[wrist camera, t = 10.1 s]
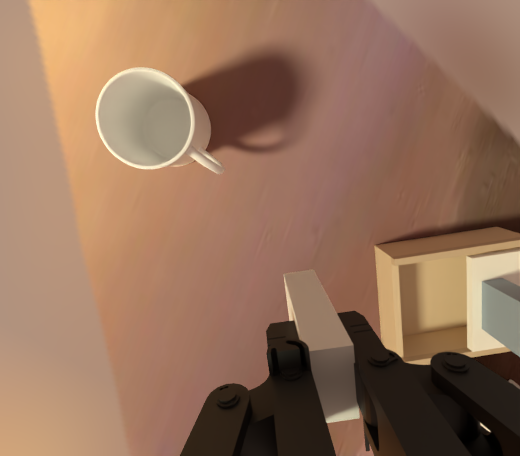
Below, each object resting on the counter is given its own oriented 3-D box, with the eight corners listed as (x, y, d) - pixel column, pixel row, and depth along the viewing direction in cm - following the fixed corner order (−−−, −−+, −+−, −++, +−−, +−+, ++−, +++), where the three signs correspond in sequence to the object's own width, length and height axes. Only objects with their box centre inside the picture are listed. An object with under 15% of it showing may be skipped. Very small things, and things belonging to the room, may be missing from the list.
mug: (247, 146, 41) (248, 144, 29) (199, 199, 42) (182, 218, 30) (169, 73, 38) (136, 38, 27) (121, 130, 39) (70, 122, 28)
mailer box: (381, 342, 47) (400, 368, 41) (374, 245, 44) (394, 259, 38) (495, 324, 47) (530, 348, 42) (496, 226, 44) (534, 237, 38)
